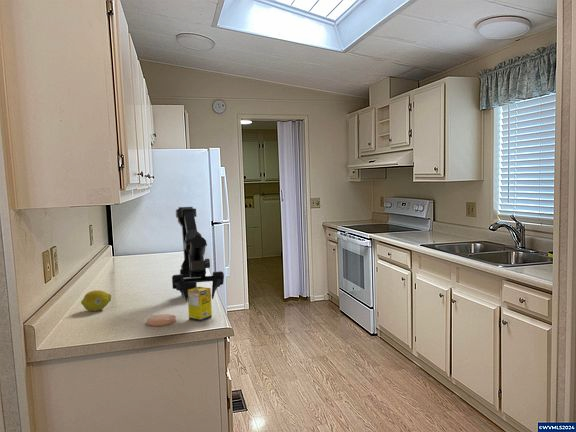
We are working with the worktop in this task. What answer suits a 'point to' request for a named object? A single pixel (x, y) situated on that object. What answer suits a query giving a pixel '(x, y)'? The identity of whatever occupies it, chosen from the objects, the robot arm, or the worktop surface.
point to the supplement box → (199, 303)
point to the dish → (161, 320)
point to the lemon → (96, 300)
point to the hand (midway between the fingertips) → (199, 299)
